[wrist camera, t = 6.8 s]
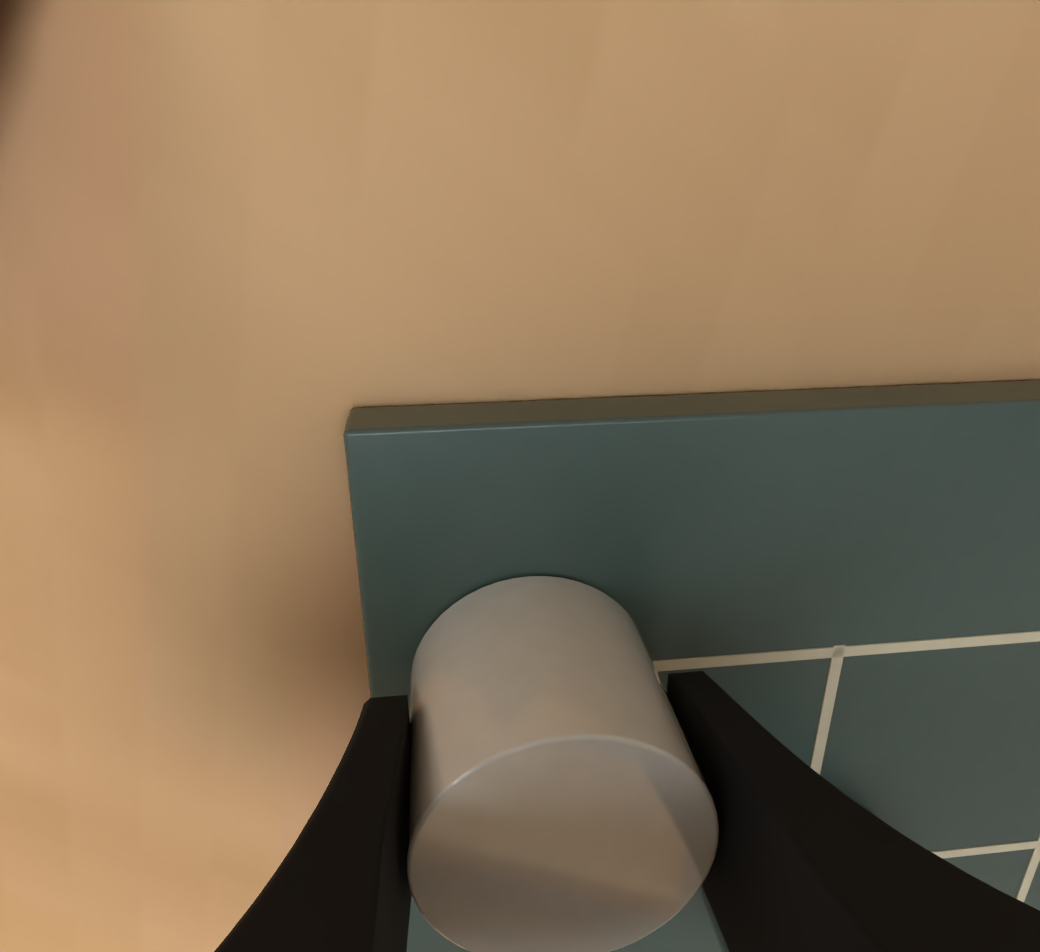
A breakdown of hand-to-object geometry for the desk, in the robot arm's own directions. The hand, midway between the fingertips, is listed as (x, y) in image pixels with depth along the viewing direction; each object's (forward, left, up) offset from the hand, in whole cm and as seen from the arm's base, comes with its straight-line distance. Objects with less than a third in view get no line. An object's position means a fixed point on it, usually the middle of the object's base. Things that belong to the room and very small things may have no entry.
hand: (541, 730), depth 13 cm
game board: (-6, +6, -3) cm, 9 cm away
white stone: (0, 0, -1) cm, 1 cm away
